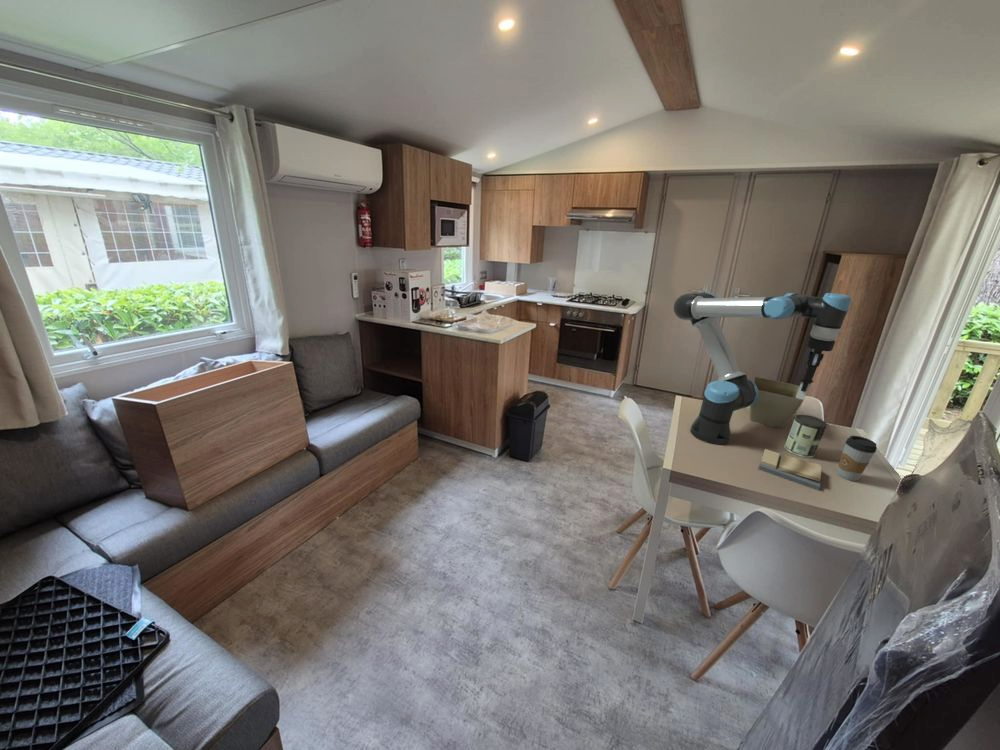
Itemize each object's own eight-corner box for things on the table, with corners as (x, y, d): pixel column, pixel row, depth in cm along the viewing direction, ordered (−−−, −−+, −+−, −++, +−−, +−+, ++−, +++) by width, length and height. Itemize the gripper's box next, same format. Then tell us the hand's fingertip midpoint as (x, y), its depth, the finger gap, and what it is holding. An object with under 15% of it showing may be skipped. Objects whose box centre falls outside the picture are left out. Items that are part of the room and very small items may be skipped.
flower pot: (791, 434, 171) (804, 399, 165) (741, 421, 180) (752, 388, 174) (789, 418, 186) (801, 386, 180) (743, 407, 195) (753, 376, 189)
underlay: (758, 469, 144) (760, 462, 143) (763, 452, 155) (765, 446, 154) (818, 490, 134) (821, 483, 133) (819, 471, 145) (822, 465, 144)
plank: (778, 469, 142) (778, 466, 142) (781, 457, 150) (781, 454, 150) (819, 481, 135) (820, 478, 135) (820, 467, 143) (821, 465, 143)
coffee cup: (826, 469, 147) (841, 434, 141) (846, 469, 147) (862, 434, 142) (846, 483, 139) (863, 447, 133) (867, 483, 140) (885, 447, 134)
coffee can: (806, 446, 162) (818, 416, 157) (819, 459, 153) (833, 428, 147) (779, 442, 164) (790, 412, 159) (791, 455, 154) (803, 424, 149)
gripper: (836, 344, 131) (811, 406, 140) (835, 336, 141) (813, 395, 149) (808, 339, 135) (786, 400, 144) (810, 332, 145) (789, 390, 154)
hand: (800, 398), depth 147 cm, fingers closed
